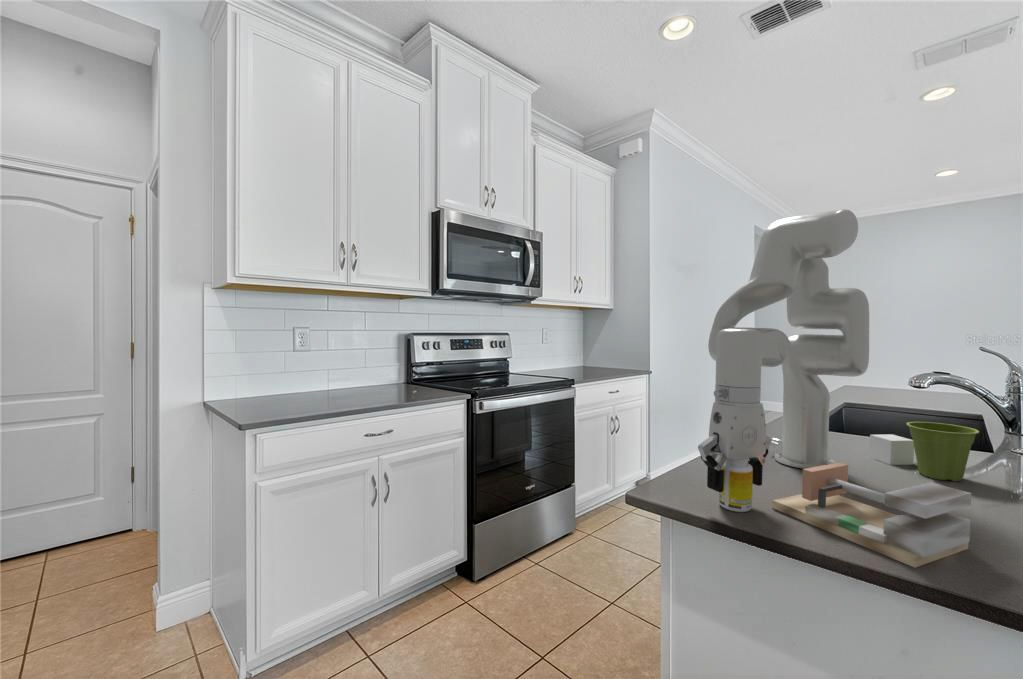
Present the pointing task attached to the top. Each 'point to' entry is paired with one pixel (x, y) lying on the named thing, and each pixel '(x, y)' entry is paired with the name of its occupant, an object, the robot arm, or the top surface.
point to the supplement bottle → (737, 486)
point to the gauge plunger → (833, 484)
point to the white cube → (892, 449)
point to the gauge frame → (893, 521)
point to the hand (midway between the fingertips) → (734, 486)
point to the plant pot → (941, 449)
